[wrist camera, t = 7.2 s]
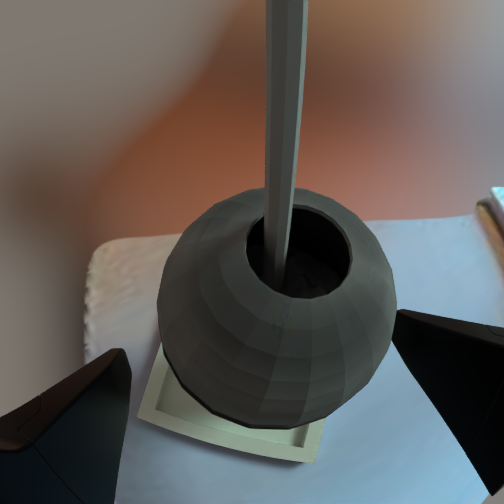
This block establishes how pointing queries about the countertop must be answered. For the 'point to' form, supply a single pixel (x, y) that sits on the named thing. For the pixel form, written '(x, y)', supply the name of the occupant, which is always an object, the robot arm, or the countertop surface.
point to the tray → (220, 421)
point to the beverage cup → (277, 279)
